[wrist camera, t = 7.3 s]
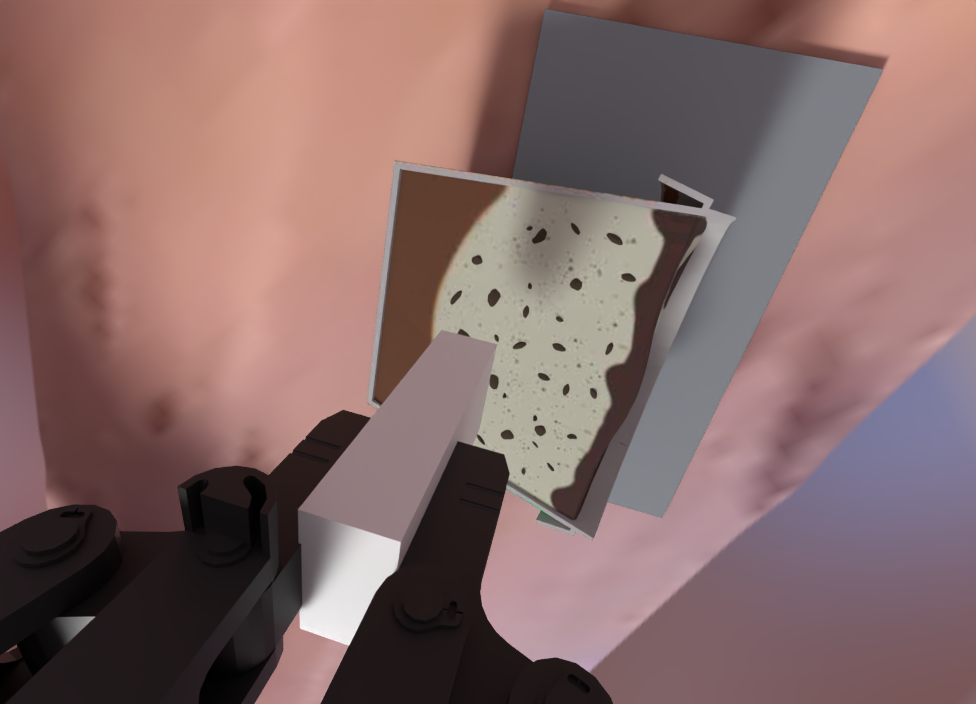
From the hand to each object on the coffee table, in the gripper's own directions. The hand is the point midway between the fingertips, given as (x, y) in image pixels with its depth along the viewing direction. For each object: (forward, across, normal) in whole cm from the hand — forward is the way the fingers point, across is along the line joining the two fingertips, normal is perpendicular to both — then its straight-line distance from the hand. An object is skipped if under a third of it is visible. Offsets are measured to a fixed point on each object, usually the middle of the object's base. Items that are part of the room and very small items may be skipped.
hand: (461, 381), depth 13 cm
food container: (+7, -4, 0) cm, 8 cm away
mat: (+9, +4, 0) cm, 10 cm away
